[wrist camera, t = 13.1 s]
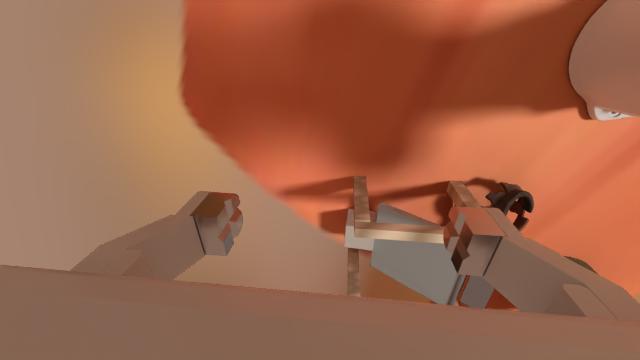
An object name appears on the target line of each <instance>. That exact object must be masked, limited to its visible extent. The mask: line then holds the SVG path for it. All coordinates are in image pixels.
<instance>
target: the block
mask: <svg viewBox="0 0 640 360" xmlns="http://www.w3.org/2000/svg"><path fill="white" fill-rule="evenodd" d="M369 212H370V222H376V211H369ZM373 244H374V239H372V238H358V237H355V236H354V209H350V208H349V209H348V215H347V221H346V231H345V246H344V247H349V248H356V249H364V250H371V251H373Z"/></svg>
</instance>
